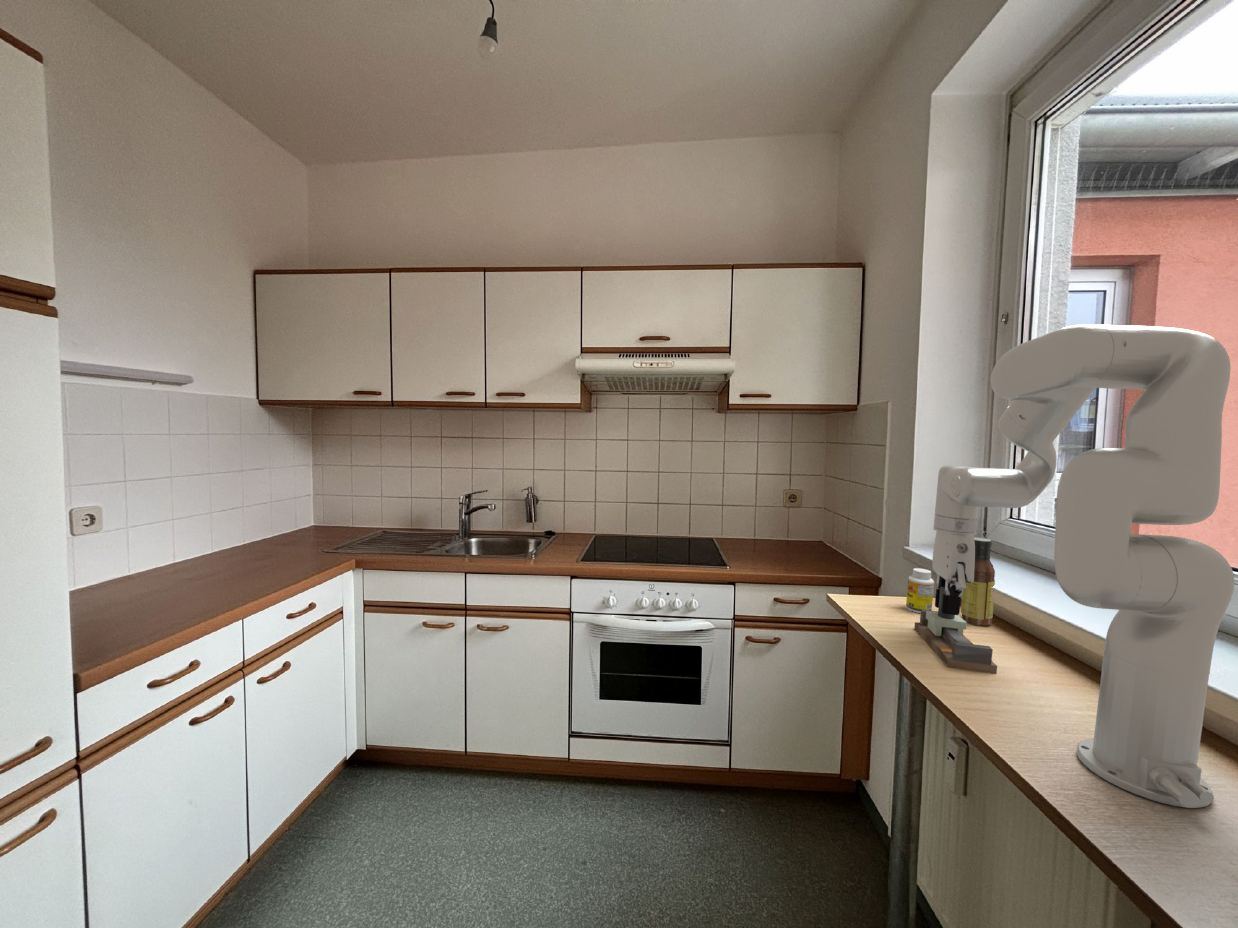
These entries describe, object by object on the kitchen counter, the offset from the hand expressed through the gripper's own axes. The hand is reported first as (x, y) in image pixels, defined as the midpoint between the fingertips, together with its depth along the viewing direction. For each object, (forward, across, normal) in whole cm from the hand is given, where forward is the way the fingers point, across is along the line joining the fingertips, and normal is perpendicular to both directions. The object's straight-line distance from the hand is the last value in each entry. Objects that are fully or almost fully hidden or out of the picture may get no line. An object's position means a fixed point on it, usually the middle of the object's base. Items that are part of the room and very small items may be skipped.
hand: (946, 610), depth 112 cm
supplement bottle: (+7, +20, -1) cm, 21 cm away
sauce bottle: (+7, +16, -12) cm, 21 cm away
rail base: (+7, -4, 0) cm, 8 cm away
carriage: (+5, 0, 0) cm, 5 cm away
